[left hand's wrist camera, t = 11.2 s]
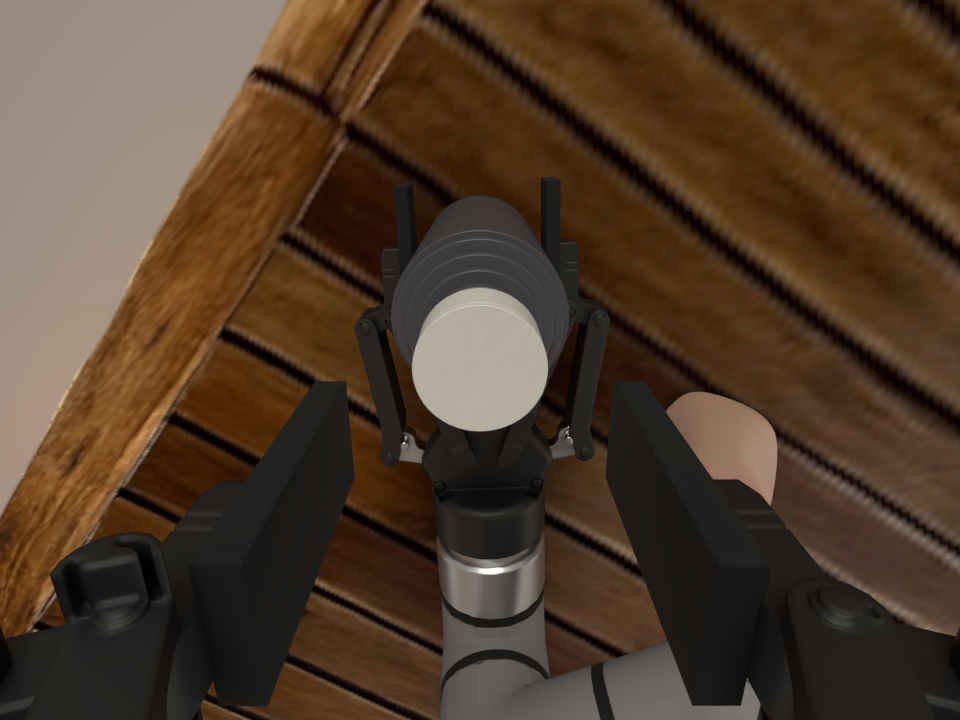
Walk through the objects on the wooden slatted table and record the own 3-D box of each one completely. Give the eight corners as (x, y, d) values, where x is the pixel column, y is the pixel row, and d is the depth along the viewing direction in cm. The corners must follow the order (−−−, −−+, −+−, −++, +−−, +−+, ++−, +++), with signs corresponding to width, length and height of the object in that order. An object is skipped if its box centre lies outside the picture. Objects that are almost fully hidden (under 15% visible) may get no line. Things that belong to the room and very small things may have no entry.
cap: (403, 380, 21) (394, 407, 19) (442, 269, 19) (437, 285, 17) (514, 417, 21) (518, 448, 19) (560, 312, 20) (569, 332, 18)
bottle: (412, 282, 40) (340, 425, 19) (446, 179, 37) (407, 218, 17) (510, 318, 41) (540, 490, 20) (550, 219, 38) (630, 302, 18)
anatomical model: (668, 410, 38) (833, 424, 39) (651, 386, 42) (802, 399, 43) (631, 568, 43) (779, 579, 44) (619, 534, 47) (756, 545, 47)
